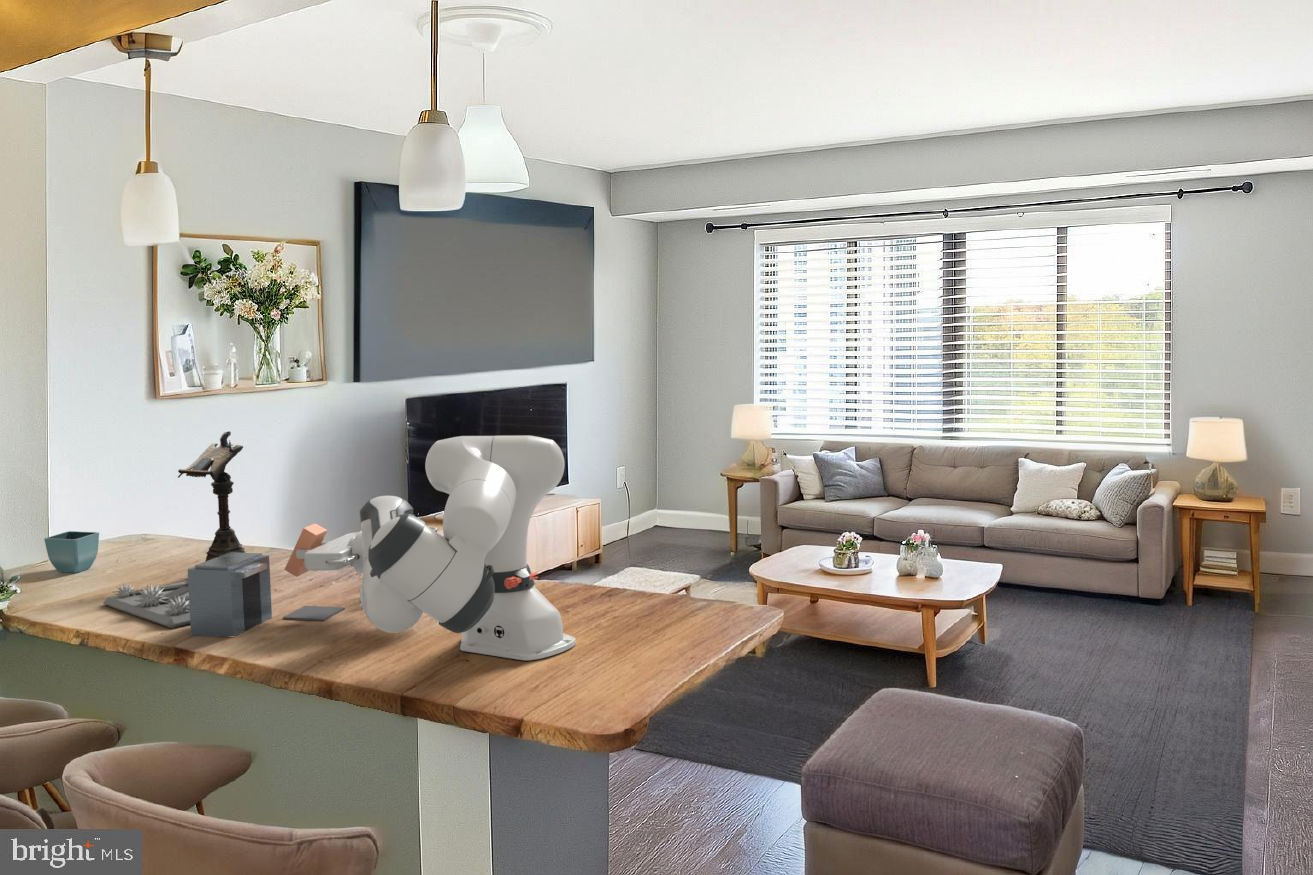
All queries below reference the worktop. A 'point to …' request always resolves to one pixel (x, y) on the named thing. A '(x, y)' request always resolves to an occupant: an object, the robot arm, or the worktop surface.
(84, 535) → the flower pot
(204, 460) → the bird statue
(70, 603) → the worktop surface
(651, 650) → the worktop surface
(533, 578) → the robot arm
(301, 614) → the coaster
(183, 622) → the spiky succulent planter
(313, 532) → the tall salmon pillar
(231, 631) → the dispenser
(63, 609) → the worktop surface
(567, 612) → the worktop surface
